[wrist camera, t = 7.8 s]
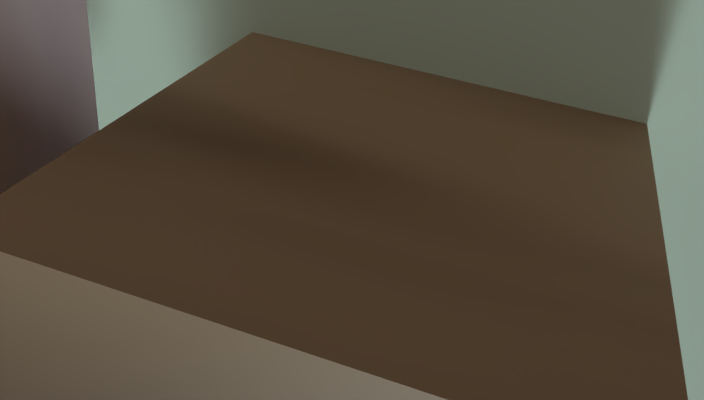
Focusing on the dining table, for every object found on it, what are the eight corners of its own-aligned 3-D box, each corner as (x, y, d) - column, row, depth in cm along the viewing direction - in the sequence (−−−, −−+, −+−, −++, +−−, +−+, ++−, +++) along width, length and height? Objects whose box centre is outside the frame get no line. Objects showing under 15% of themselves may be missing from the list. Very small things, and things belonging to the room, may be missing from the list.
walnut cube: (532, 411, 10) (488, 803, 6) (240, 315, 11) (38, 601, 7) (646, 124, 8) (701, 483, 4) (252, 31, 9) (-60, 231, 5)
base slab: (909, -103, 8) (1038, -65, 6) (633, 422, 14) (640, 556, 11) (192, -213, 10) (65, -218, 8) (197, 283, 16) (122, 371, 13)
